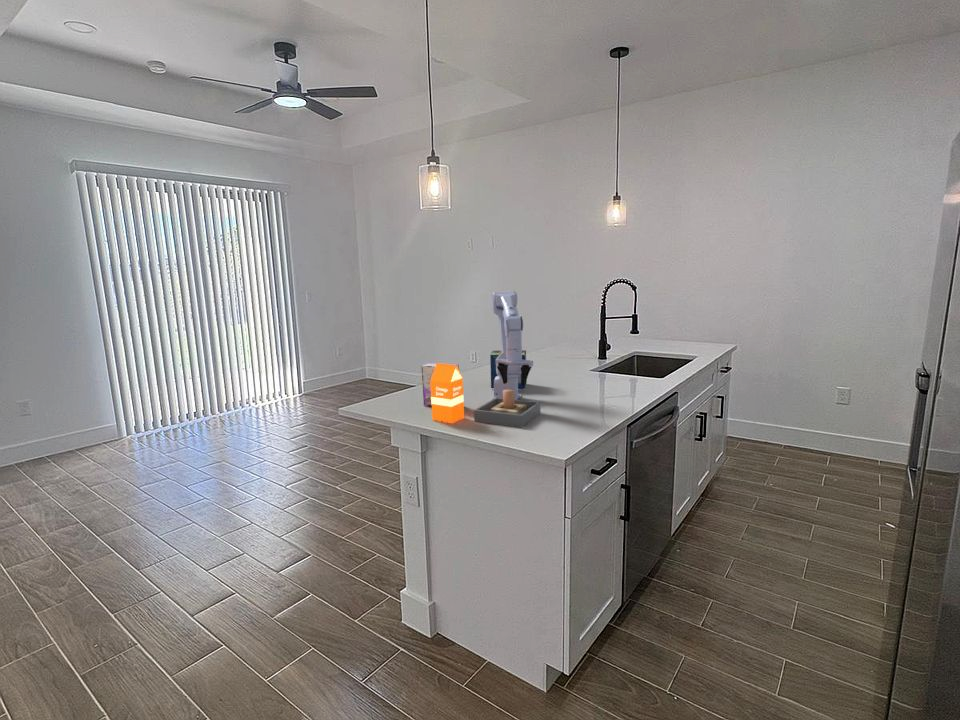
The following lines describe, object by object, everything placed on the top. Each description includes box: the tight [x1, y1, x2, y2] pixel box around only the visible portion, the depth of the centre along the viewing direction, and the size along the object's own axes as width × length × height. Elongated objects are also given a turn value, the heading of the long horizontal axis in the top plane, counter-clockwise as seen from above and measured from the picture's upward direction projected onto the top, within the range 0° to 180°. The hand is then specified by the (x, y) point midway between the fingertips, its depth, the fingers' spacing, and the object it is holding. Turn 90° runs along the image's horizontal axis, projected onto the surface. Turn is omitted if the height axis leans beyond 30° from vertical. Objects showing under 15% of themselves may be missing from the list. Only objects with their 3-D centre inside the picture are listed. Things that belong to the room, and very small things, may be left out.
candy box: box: [421, 362, 460, 407], centre depth 200 cm, size 14×6×16 cm, turn 65°
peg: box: [503, 389, 514, 410], centre depth 187 cm, size 4×4×8 cm
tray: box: [473, 398, 541, 428], centre depth 184 cm, size 18×18×4 cm
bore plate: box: [490, 402, 527, 415], centre depth 187 cm, size 10×10×2 cm
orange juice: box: [430, 362, 465, 424], centre depth 182 cm, size 8×9×20 cm
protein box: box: [489, 349, 528, 390], centre depth 228 cm, size 10×15×16 cm
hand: (514, 384), depth 193 cm, fingers open, 7 cm apart
